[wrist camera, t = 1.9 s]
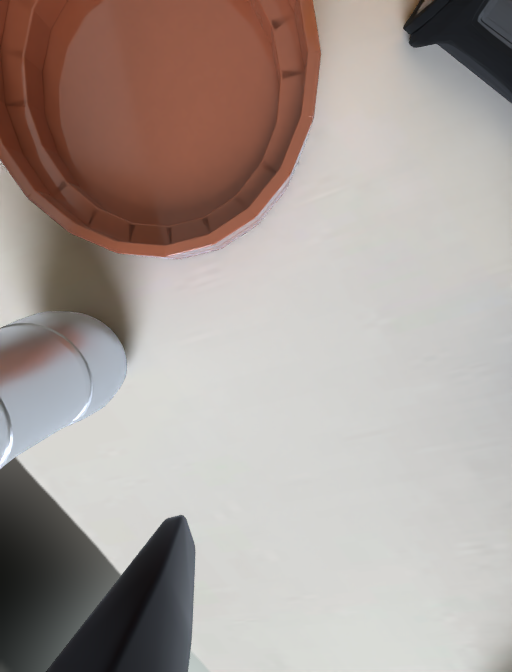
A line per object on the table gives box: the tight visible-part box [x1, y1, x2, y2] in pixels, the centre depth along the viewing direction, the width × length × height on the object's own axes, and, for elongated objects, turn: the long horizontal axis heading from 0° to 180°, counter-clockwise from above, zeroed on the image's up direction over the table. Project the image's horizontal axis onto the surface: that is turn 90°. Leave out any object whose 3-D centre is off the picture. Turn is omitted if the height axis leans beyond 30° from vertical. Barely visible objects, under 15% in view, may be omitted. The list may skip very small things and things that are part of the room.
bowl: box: [0, 0, 321, 259], centre depth 15 cm, size 16×16×3 cm
